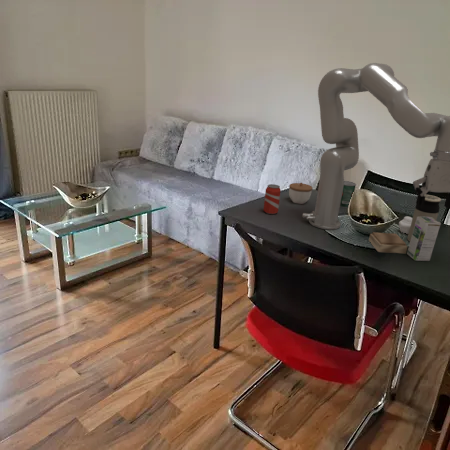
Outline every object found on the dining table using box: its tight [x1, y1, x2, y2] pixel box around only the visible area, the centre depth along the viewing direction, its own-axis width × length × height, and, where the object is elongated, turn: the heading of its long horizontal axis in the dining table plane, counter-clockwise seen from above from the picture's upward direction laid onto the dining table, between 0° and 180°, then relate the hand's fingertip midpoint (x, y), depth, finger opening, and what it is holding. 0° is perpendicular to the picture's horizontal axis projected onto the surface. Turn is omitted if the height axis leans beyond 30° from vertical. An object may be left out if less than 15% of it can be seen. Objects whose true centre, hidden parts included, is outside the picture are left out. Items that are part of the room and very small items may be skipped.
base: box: [368, 231, 409, 255], centre depth 147 cm, size 10×10×4 cm
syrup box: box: [406, 216, 442, 262], centre depth 137 cm, size 6×6×14 cm
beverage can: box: [263, 183, 282, 215], centre depth 171 cm, size 6×6×12 cm
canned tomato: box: [340, 180, 357, 209], centre depth 188 cm, size 8×8×11 cm
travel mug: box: [406, 194, 442, 242], centre depth 150 cm, size 8×8×18 cm
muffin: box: [398, 215, 413, 235], centre depth 161 cm, size 6×6×7 cm
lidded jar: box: [288, 182, 313, 205], centre depth 189 cm, size 11×11×9 cm
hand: (433, 207), depth 133 cm, fingers open, 9 cm apart
